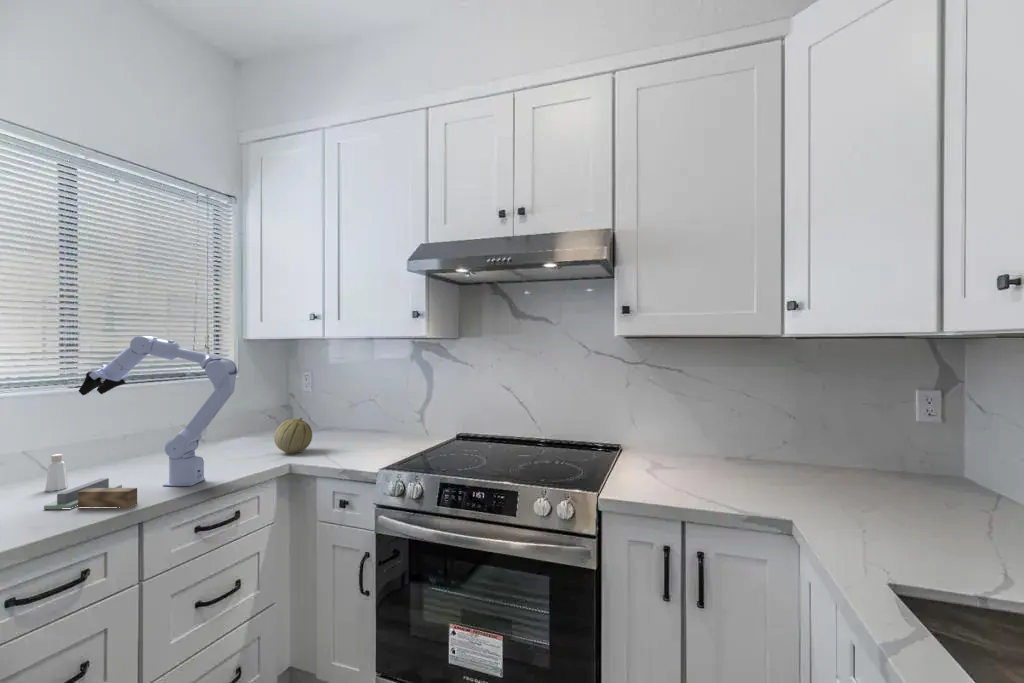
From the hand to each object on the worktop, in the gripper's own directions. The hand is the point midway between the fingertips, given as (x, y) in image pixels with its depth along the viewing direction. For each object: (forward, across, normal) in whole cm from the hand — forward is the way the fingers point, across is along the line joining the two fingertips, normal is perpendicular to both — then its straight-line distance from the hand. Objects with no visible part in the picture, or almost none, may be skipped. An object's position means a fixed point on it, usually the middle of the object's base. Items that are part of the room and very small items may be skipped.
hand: (90, 392), depth 162 cm
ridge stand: (+16, +12, +29) cm, 35 cm away
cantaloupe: (-16, -47, +54) cm, 73 cm away
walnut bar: (+8, +19, +37) cm, 43 cm away
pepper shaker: (+27, +1, +17) cm, 32 cm away
